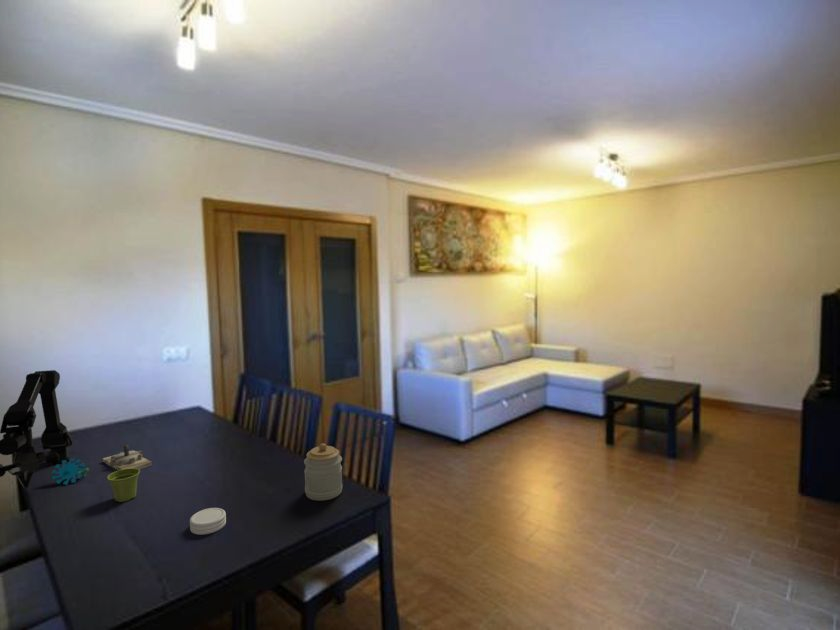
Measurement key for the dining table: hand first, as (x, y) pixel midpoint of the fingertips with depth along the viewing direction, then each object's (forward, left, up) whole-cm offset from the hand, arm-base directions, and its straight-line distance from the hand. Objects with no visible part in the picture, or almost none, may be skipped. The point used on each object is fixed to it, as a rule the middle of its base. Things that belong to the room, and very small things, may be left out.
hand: (25, 487), depth 158 cm
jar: (+84, +61, -3) cm, 104 cm away
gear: (0, +13, -3) cm, 14 cm away
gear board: (0, +32, -2) cm, 32 cm away
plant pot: (+31, +19, -3) cm, 36 cm away
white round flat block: (+71, +26, -3) cm, 76 cm away
